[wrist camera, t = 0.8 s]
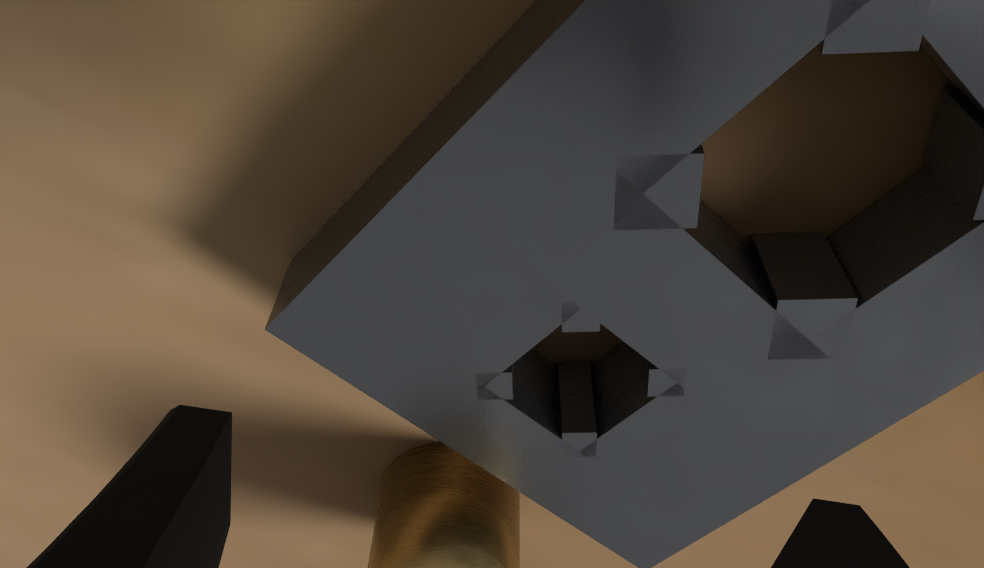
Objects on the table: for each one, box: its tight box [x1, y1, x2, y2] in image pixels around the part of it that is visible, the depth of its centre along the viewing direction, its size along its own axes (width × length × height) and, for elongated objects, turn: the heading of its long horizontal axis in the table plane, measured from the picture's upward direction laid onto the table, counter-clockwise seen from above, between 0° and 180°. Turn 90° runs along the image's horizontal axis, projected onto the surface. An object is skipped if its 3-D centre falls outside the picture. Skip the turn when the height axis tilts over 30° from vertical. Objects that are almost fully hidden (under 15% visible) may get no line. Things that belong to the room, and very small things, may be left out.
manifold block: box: [265, 0, 984, 568], centre depth 19 cm, size 12×14×2 cm
